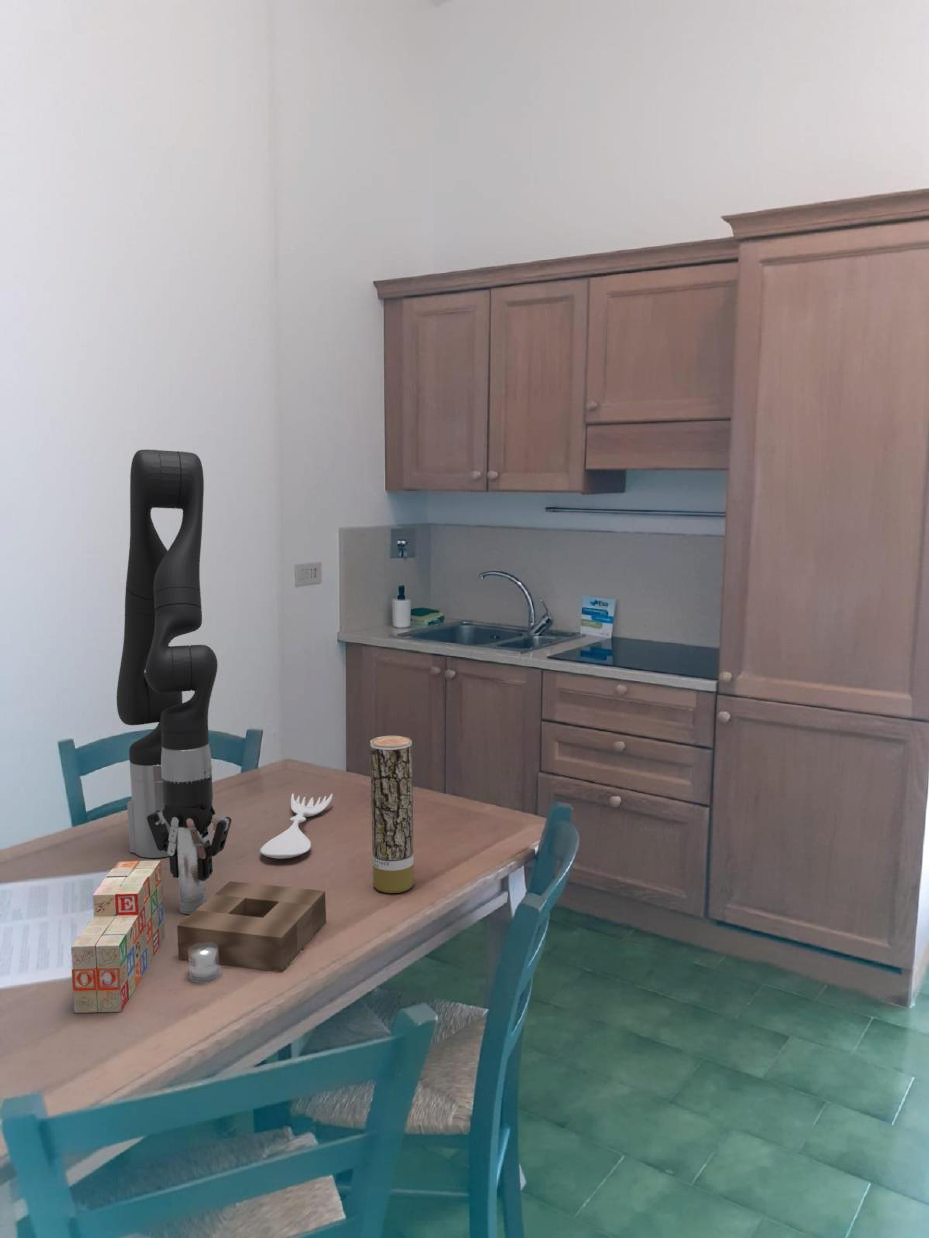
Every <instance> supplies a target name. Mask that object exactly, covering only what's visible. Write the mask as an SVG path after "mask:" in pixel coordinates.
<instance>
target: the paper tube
mask: <svg viewBox="0 0 929 1238" xmlns="http://www.w3.org/2000/svg"><path fill="white" fill-rule="evenodd" d="M412 741H413V740H412V739H411V738H409V737H407V736H402V735H401V736H400V735H384V736H379V737H375V738H372V739H371V740H370V743H369V751H370V752H369V753H370V754H369V755H370V793H371V795H370V799H371V801H370V802H371V804H370V805H371V806H370V807H371V844H372V846H371V847H372V848H371V849H372V850H371V851H372V853H371V854H372V879H373V880H372V883H373V884H372V885H373V886H374V888H375V889H376V890H377V891H379V892H381V893H385V894H400V893H403V892H407V891H409V890H410V889H411V888H412V887H413V886H414V882H415V879H414V878H415V877H414V875H415V872H414V869H415V865H414V862H415V861H414V859H415V857H414V809H413V808H414V805H413V804H414V801H413V800H414V799H413V798H414V797H413V796H414V795H413V794H414V793H413V792H414V791H413V787H414V786H413V742H412Z"/></svg>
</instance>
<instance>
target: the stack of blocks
mask: <svg viewBox="0 0 929 1238" xmlns="http://www.w3.org/2000/svg"><path fill="white" fill-rule="evenodd" d="M162 878H163V877H162V861H161V860H127V861H118V862H117V863H116V864H115V865H114V867H113V868H112V869H111V870H110V871H109V872H108V873H107V875H106V877H105V878H103V880H102V882H101V883H100V884H99V885H98V887H97V889H96V890H95V891H94V892H93V894H92V905H93V906H92V907H93V909H92V910H93V916H92V918H91V919H90V921H89V922H88V923H87V924H86V926H85V927H84V928H83V929H82V931H81V932H80V933H79V935H78V936H77V938H76V939H75V940H74V942H73V943H72V944H71V946H70V948H71V953H70V954H71V965H72V966H71V967H72V968H71V981H72V984H71V985H72V990H73V991H72V997H73V1010H74V1011H73V1013H74V1014H75V1013H78V1014H79V1013H85V1014H86V1013H117V1012H118V1013H119V1012H120V1013H121V1012H122V1011H123V1010H124V1007H125V1005H126V1004H127V1003H128V1000H129V999H130V998H131V997H132V994H133V993H134V992H135V989H136V988H137V986H138V984H139V983H140V981H141V979H142V976H143V975H144V973H145V972H146V971H147V968H148V966H149V964H150V962H151V961H152V959H153V958H154V956H155V955H156V953H157V951H158V949H159V948H160V947H161V945H162V943H163V941H164V939H165V938H166V931H165V930H166V929H165V918H164V901H163V900H164V897H163V893H164V892H163V880H162Z"/></svg>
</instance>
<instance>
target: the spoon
mask: <svg viewBox="0 0 929 1238" xmlns="http://www.w3.org/2000/svg"><path fill="white" fill-rule="evenodd" d="M300 797H301V796H300V795H298V796H297V798H296V800H295V794H294V793H292V794H291V797H290V808H291V811H292V812H293V813H294V814H295V815H294V816H292V817H291V818H289V821H290V822H292V824H291V825H290V827H289V828H287V829H286V830H284V831H283V832H281V833H280V834H278V835H276V836H275V837H273V838H271V839H269V840H268V841H266V842H265V843H264V844H263V845H262V846H261V847H260V849H259V852H260V854H262V855H263V856H265V857H268V858H271V859H272V858H273V859H280V860H281V859H291V858H296V857H299V856H301V855H303V854H305V853H307V852H308V851H310V849H311V847H312V842H311V840H310V839H309V837H307V836H306V835H305V834H304V833H303V831H302V830H301V829H300V828H299V824H300V823H304V822H306V820H307V817H308V818H309V817H313V816H316V815H318V814H320V813H321V812H323V811H324V810H326V808H327V807H328V806H329V804H330V803H331V802H332V800H333V797H334V794H333V793H331V794H330V795H329V797H328V798H327V795H325V796H324V797H323V799H322V800H321V796H319V797H318V799H317V801H316V803H315V804H314V800H315V799H314V797H311V798H310V799H309V800H308V803H306V796H304V797H303V798H302V800H301V798H300ZM300 801H301V803H300Z"/></svg>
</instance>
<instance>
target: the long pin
mask: <svg viewBox="0 0 929 1238" xmlns="http://www.w3.org/2000/svg"><path fill="white" fill-rule="evenodd" d="M200 836H201V837H202V836H203V834H201V835H200ZM199 858H200V857H199V853H198V850H197V847H196V846H195V845H194V843H193V840H192V836H191V833H190V830H189V829H188V827H186V826H179V827H178V831H177V859H178V878H177V879H178V897H179V911H180V913H182V914H185V915H190V914H192V913H193V912H194V911H195V910H196V909H197V908H199V907H200V906H201V905H202V904H203V903H205V902H206V901H207V897H206V880H205V881H200V880H199V865H198V859H199Z"/></svg>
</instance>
